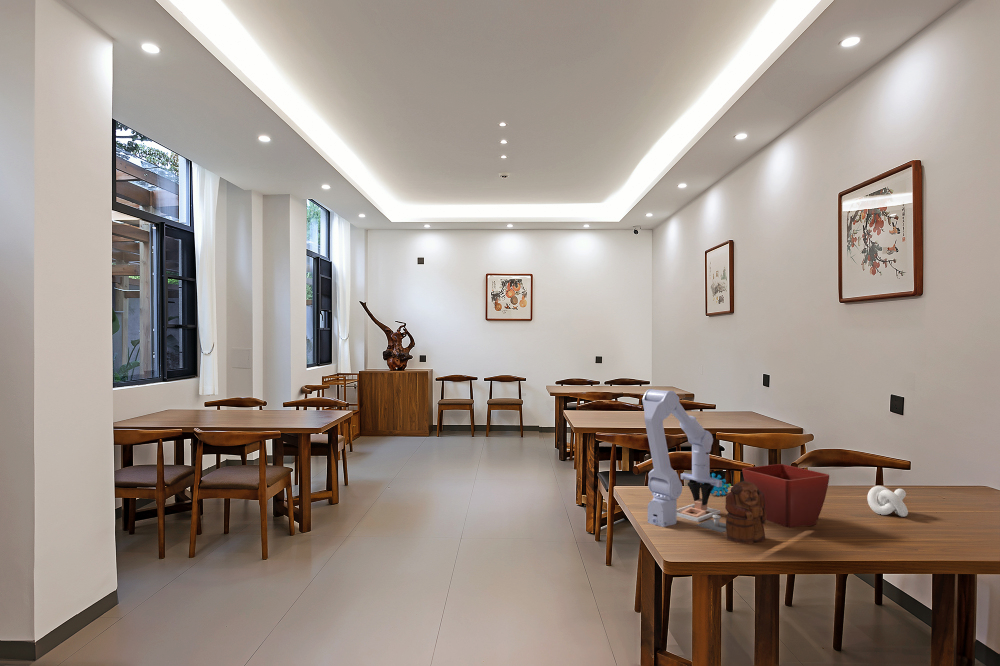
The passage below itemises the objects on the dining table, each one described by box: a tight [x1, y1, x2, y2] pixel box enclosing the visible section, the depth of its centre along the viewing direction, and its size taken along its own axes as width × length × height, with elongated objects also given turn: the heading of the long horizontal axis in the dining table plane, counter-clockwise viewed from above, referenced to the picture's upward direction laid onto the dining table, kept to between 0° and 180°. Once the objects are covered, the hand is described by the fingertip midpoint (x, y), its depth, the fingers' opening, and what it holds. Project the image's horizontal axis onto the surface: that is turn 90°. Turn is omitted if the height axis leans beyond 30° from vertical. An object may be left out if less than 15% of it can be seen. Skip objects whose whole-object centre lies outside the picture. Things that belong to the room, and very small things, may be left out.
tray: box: [677, 503, 721, 523], centre depth 190 cm, size 14×10×2 cm
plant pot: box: [742, 463, 830, 528], centre depth 184 cm, size 19×19×17 cm
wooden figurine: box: [724, 480, 767, 545], centre depth 165 cm, size 12×6×18 cm, turn 110°
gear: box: [702, 472, 732, 497], centre depth 220 cm, size 11×6×10 cm
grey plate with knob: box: [695, 514, 726, 534], centre depth 177 cm, size 9×9×4 cm
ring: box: [679, 497, 708, 518], centre depth 190 cm, size 10×6×4 cm, turn 130°
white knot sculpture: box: [866, 485, 909, 518], centre depth 193 cm, size 11×12×9 cm
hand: (700, 503), depth 192 cm, fingers closed on ring, 2 cm apart
